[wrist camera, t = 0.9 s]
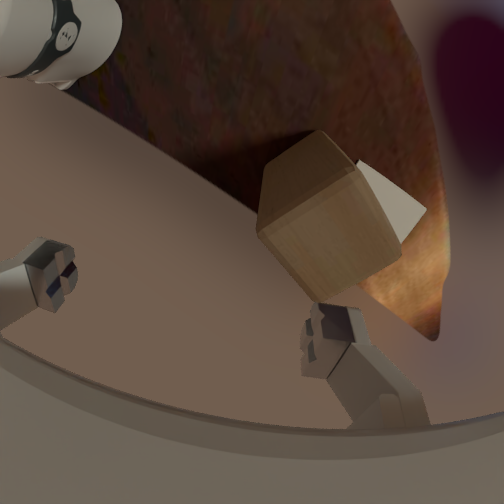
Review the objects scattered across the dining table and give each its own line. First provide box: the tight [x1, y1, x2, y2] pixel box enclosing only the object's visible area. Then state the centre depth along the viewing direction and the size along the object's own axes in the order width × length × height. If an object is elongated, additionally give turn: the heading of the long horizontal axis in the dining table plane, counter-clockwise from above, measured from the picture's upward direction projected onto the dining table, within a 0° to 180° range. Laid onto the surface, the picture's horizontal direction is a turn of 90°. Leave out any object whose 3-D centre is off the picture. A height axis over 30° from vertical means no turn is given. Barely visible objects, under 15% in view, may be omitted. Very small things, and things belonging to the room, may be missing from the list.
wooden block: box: [256, 130, 402, 302], centre depth 32 cm, size 10×10×20 cm
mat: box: [356, 160, 427, 243], centre depth 43 cm, size 15×12×1 cm
